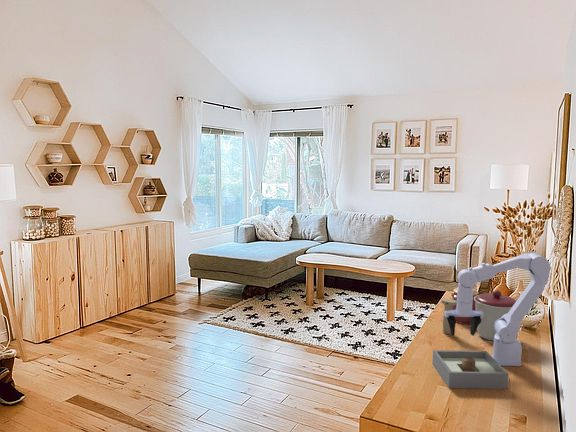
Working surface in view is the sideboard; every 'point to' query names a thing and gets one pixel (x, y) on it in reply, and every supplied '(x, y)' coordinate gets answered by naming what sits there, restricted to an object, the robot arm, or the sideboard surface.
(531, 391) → the sideboard surface
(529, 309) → the robot arm
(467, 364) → the peg
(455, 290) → the canister
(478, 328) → the canister
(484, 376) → the socket box
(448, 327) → the handle
